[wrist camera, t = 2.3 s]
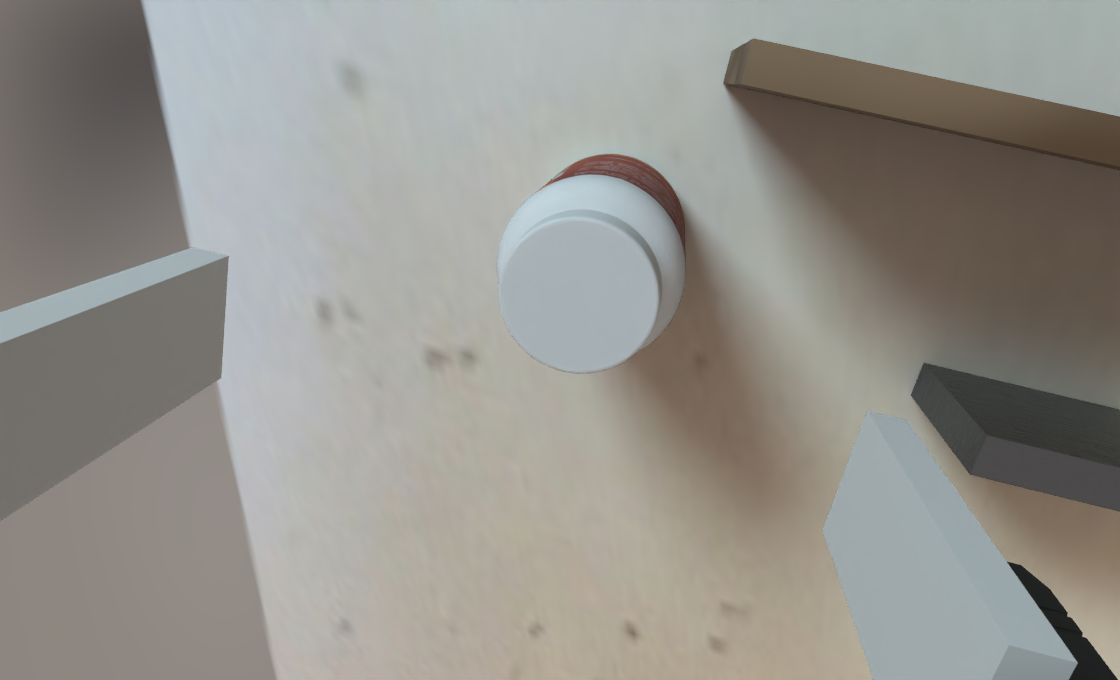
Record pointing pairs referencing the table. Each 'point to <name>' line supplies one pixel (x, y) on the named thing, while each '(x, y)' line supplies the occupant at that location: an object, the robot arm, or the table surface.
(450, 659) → the table surface
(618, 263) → the pill bottle
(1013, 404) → the dark rectangular block
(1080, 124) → the wooden corner wall
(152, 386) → the robot arm
